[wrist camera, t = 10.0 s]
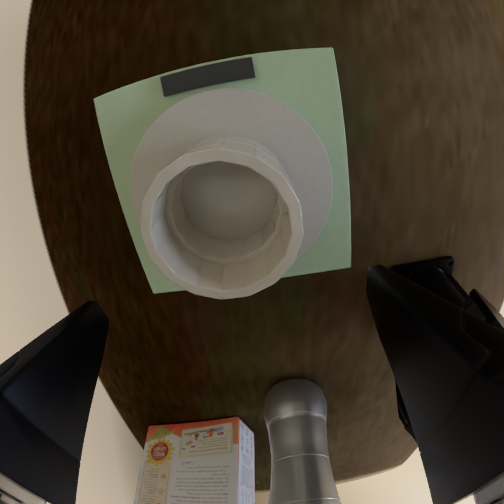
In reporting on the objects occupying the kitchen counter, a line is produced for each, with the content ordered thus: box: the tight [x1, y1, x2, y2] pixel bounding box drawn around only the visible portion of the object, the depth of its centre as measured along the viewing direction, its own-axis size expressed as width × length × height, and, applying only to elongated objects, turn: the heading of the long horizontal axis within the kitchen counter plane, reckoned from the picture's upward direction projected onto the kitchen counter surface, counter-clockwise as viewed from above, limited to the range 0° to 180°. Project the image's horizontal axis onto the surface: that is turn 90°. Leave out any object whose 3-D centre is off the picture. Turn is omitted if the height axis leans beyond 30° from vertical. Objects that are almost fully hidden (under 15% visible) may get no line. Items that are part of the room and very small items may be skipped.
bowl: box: [140, 135, 304, 299], centre depth 14 cm, size 7×7×5 cm
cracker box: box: [134, 417, 255, 504], centre depth 25 cm, size 14×6×21 cm, turn 111°
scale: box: [94, 48, 351, 293], centre depth 17 cm, size 14×14×3 cm
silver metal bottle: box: [263, 379, 341, 504], centre depth 20 cm, size 6×7×20 cm
